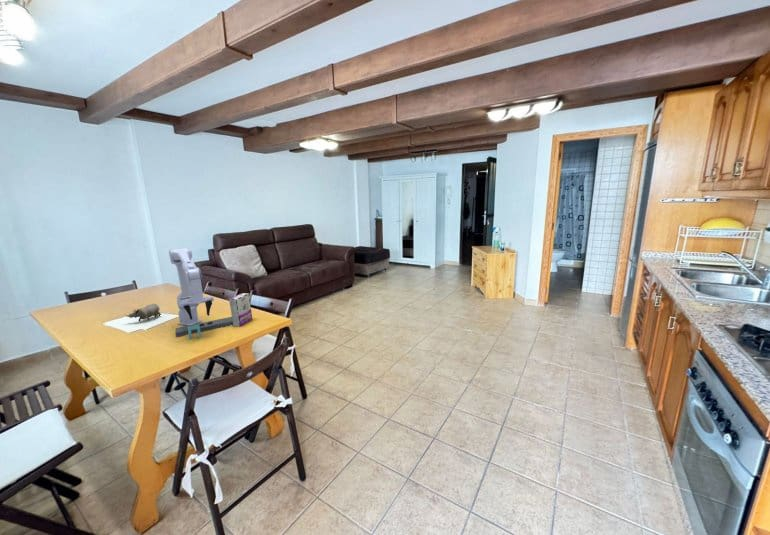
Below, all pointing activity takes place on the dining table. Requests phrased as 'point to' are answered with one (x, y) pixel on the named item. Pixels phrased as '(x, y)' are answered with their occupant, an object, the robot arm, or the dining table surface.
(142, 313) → the animal figurine
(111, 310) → the dining table surface
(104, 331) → the dining table surface
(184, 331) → the rail
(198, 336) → the clip
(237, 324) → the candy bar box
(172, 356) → the dining table surface
